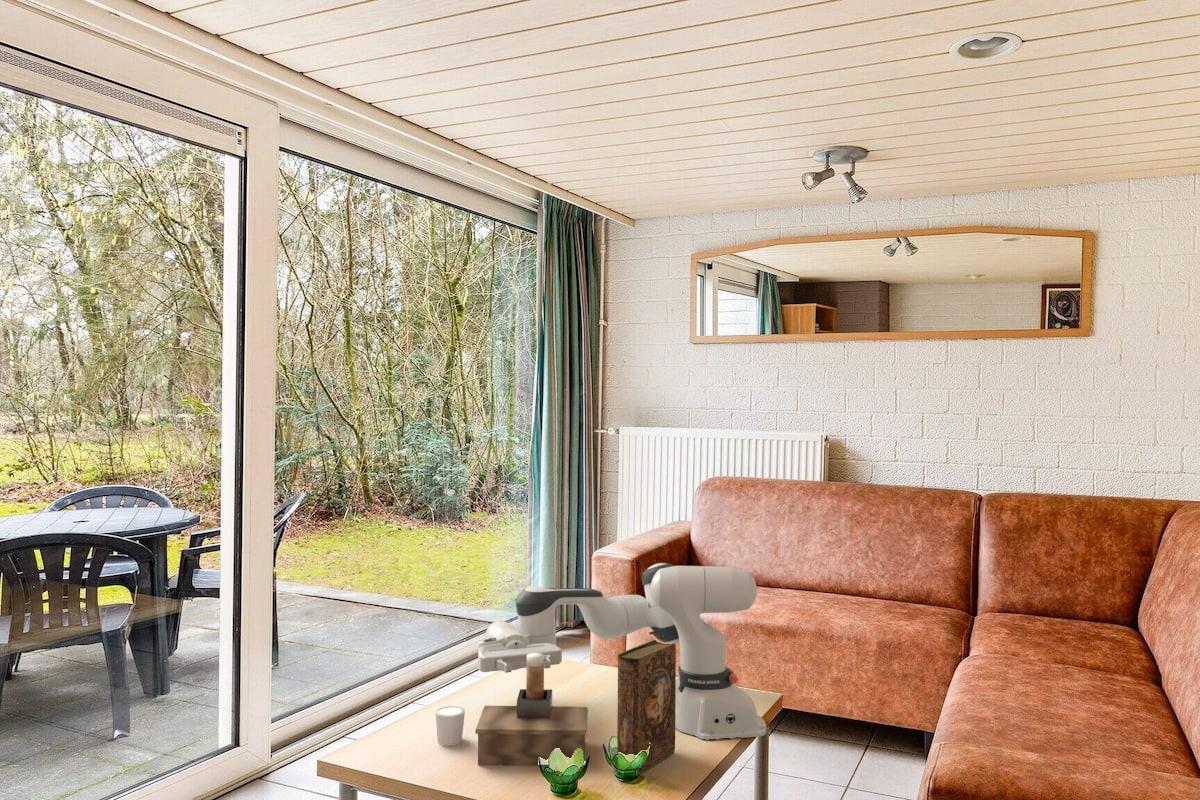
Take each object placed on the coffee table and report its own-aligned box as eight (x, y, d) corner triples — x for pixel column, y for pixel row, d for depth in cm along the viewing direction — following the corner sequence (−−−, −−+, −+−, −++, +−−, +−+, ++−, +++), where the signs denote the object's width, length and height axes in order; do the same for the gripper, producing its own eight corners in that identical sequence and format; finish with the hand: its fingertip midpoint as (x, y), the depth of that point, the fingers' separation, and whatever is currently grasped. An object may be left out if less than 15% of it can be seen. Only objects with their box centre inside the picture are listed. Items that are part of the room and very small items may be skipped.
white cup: (431, 737, 203) (432, 707, 203) (460, 733, 206) (460, 704, 206) (438, 748, 197) (438, 717, 197) (467, 744, 200) (468, 713, 200)
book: (635, 779, 182) (636, 660, 182) (613, 772, 185) (614, 655, 185) (675, 753, 195) (676, 642, 195) (654, 747, 199) (655, 638, 199)
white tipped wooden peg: (544, 709, 200) (544, 653, 200) (542, 715, 196) (543, 658, 196) (526, 709, 200) (527, 652, 200) (525, 715, 196) (525, 657, 196)
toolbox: (587, 740, 202) (587, 689, 202) (585, 767, 188) (586, 711, 188) (484, 739, 202) (484, 688, 202) (475, 766, 188) (475, 710, 188)
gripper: (552, 659, 218) (570, 675, 206) (472, 667, 211) (485, 685, 198) (552, 634, 218) (570, 649, 206) (472, 641, 211) (485, 657, 198)
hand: (528, 667), depth 202 cm, fingers open, 8 cm apart
